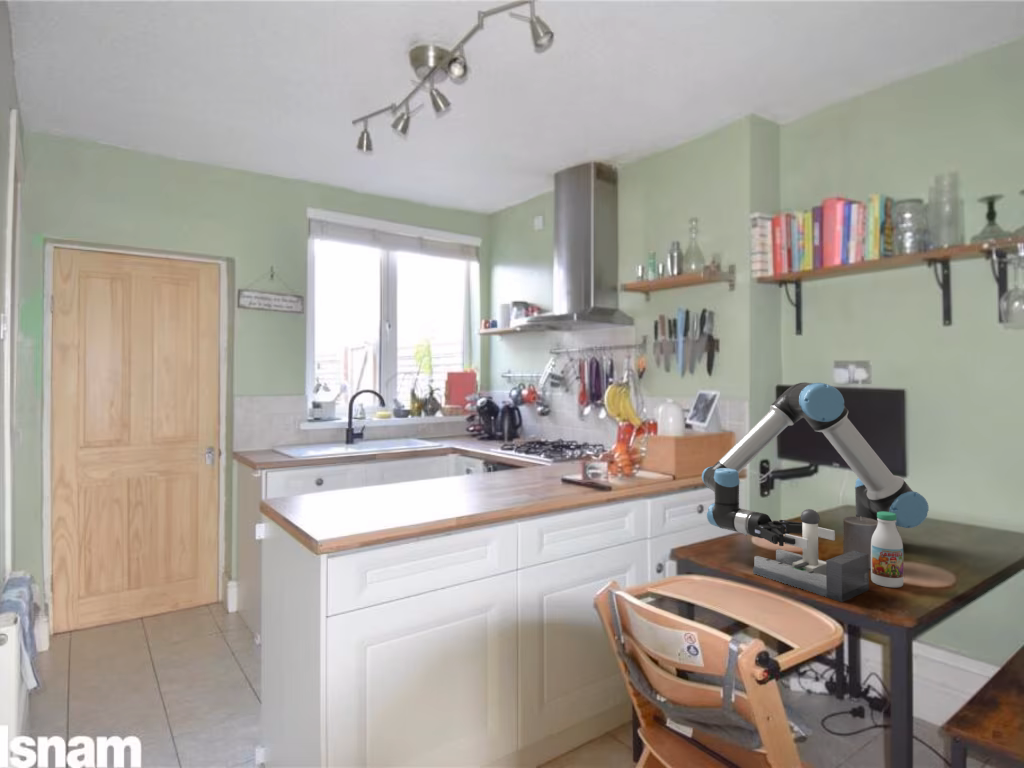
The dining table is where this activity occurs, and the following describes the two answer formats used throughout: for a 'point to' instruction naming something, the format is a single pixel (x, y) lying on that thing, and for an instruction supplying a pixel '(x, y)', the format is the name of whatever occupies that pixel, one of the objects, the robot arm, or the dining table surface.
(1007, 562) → the dining table surface
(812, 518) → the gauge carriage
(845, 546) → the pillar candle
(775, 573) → the base
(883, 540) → the milk bottle
